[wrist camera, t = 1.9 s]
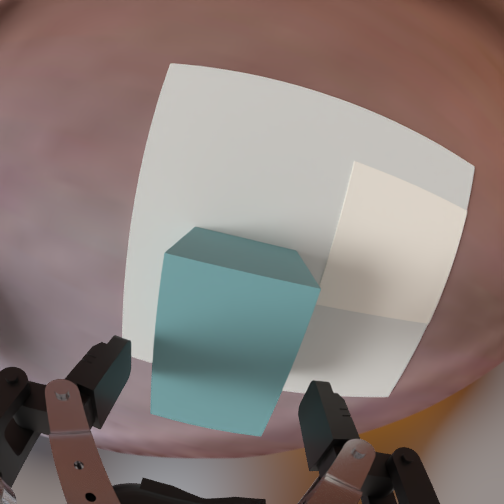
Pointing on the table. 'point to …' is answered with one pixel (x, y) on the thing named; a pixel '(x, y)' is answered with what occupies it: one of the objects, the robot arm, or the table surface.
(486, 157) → the table surface
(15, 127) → the table surface
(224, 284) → the card box
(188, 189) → the mat
